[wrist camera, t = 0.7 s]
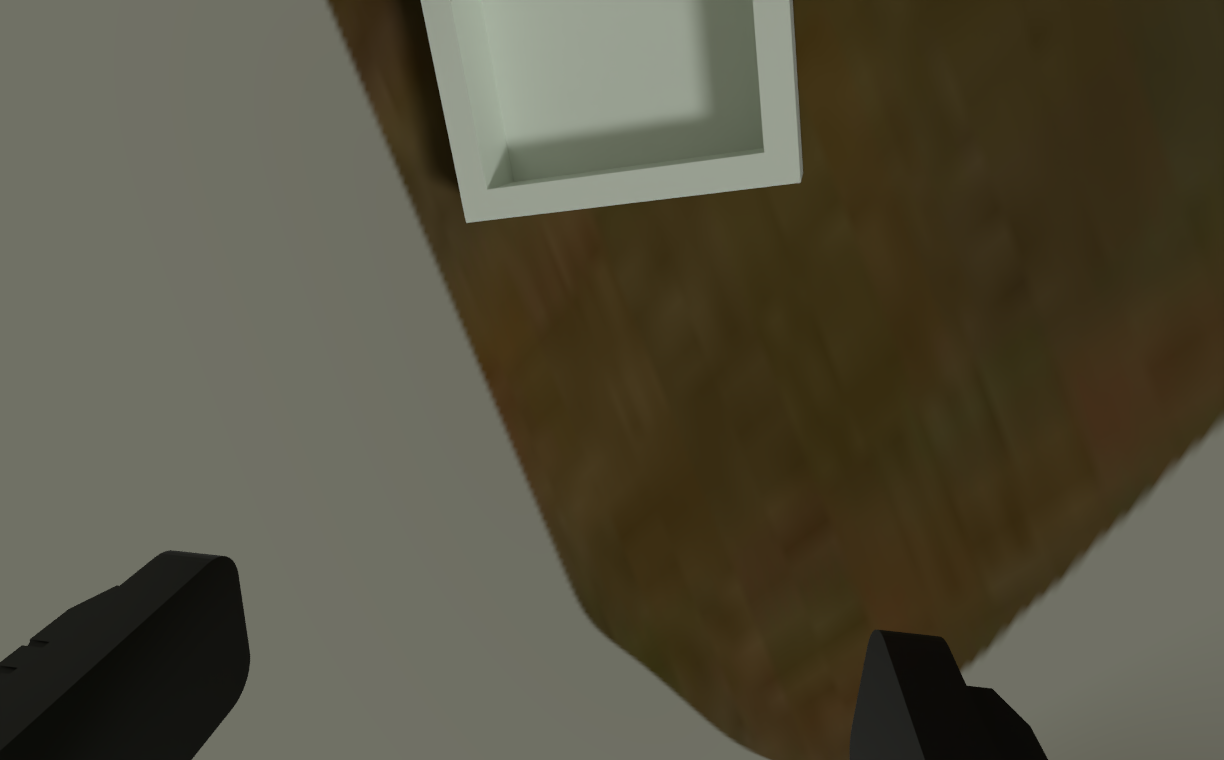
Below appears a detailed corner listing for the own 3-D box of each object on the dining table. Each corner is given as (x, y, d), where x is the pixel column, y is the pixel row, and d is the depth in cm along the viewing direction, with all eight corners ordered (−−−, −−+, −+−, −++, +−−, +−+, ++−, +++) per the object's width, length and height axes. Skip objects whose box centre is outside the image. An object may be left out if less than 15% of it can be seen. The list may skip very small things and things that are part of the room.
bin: (435, -130, 30) (388, -156, 27) (779, -225, 26) (772, -269, 23) (499, 210, 34) (466, 222, 31) (802, 172, 30) (800, 182, 27)
